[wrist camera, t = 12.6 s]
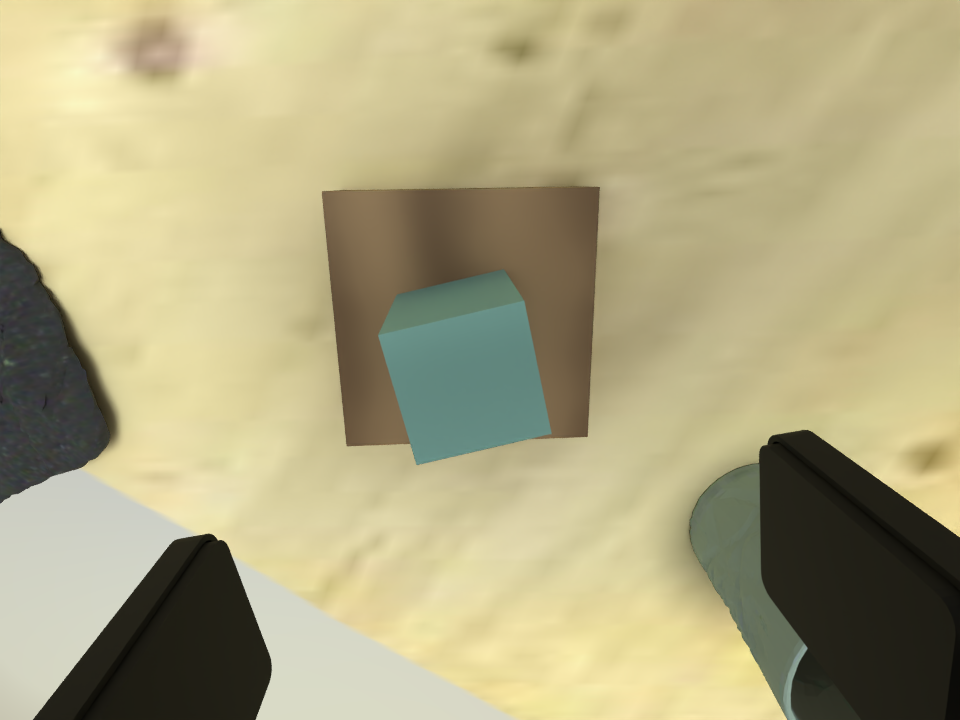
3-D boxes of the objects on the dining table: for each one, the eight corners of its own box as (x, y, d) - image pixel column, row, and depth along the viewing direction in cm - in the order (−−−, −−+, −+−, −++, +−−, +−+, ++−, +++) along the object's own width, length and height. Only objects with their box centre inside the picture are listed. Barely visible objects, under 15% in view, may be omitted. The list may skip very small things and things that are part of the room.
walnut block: (574, 186, 29) (599, 187, 24) (566, 400, 33) (587, 436, 28) (342, 190, 28) (321, 191, 24) (361, 407, 32) (346, 446, 27)
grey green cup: (682, 596, 37) (787, 781, 25) (670, 464, 34) (783, 607, 22) (831, 567, 37) (1003, 739, 25) (833, 432, 34) (1030, 559, 22)
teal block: (504, 269, 25) (524, 300, 18) (525, 370, 27) (551, 433, 20) (396, 294, 25) (377, 335, 18) (424, 394, 27) (416, 465, 20)
